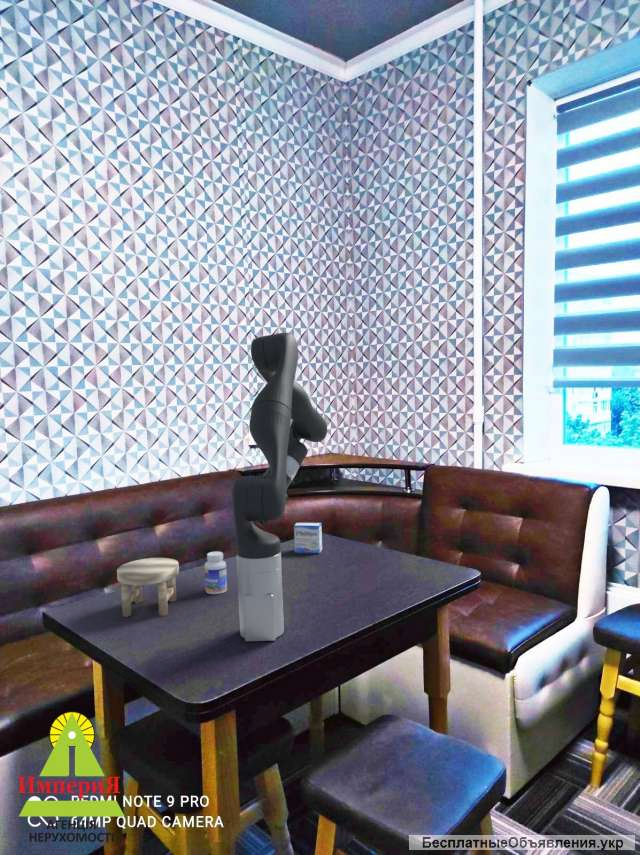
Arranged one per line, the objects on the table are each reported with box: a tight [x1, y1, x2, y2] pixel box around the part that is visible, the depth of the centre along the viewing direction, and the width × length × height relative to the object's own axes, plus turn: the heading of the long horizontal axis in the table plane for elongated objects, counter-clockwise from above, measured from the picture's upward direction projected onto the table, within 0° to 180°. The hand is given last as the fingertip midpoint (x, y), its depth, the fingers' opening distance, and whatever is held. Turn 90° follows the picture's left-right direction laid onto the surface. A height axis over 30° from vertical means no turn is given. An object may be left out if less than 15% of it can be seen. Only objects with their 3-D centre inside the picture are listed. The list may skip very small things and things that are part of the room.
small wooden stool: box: [116, 557, 180, 618], centre depth 143 cm, size 14×14×10 cm
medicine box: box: [293, 522, 323, 554], centre depth 185 cm, size 8×4×9 cm, turn 80°
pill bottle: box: [204, 550, 228, 595], centre depth 153 cm, size 5×5×10 cm
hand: (249, 522), depth 160 cm, fingers open, 8 cm apart
